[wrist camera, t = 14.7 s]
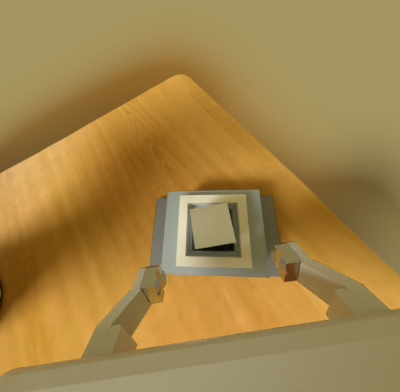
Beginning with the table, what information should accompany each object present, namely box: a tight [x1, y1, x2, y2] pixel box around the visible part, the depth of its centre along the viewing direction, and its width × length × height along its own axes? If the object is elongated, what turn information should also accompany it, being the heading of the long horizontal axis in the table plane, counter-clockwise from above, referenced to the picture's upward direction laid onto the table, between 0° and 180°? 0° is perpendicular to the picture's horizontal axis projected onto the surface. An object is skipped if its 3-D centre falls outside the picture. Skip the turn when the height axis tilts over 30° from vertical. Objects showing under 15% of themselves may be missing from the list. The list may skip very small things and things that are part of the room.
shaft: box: [190, 203, 236, 249], centre depth 18 cm, size 4×4×11 cm
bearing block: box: [150, 190, 281, 278], centre depth 21 cm, size 20×12×7 cm, turn 89°
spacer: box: [176, 194, 253, 269], centre depth 17 cm, size 8×8×1 cm
